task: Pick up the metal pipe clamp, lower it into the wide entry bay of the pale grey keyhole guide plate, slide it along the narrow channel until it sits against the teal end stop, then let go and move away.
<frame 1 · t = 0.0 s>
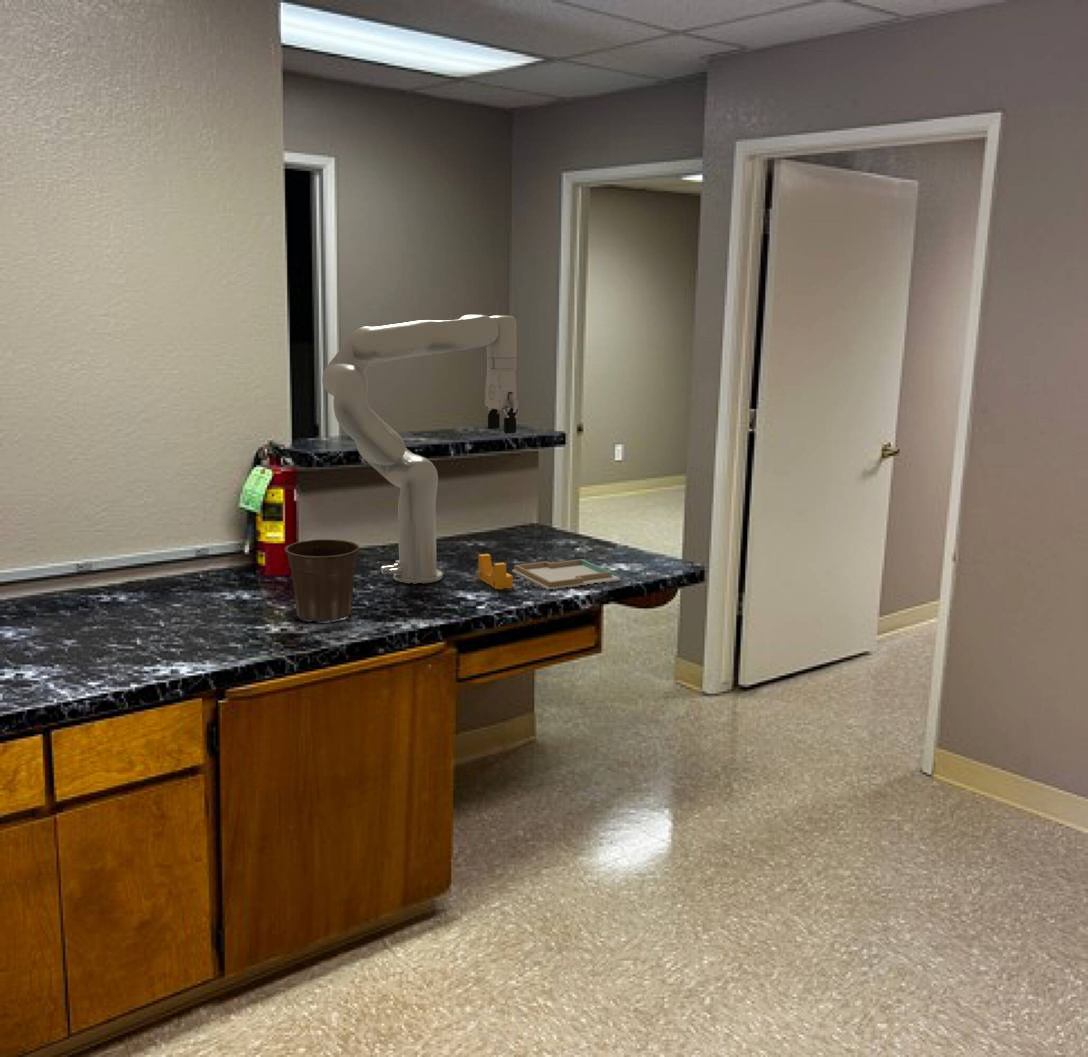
hand: (501, 430, 280), 37 cm above the worktop, tool pointing down, fingers open, 9 cm apart
plant pot: (325, 617, 244), on the worktop
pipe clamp: (495, 584, 273), on the worktop
keyhole guide: (565, 576, 280), on the worktop
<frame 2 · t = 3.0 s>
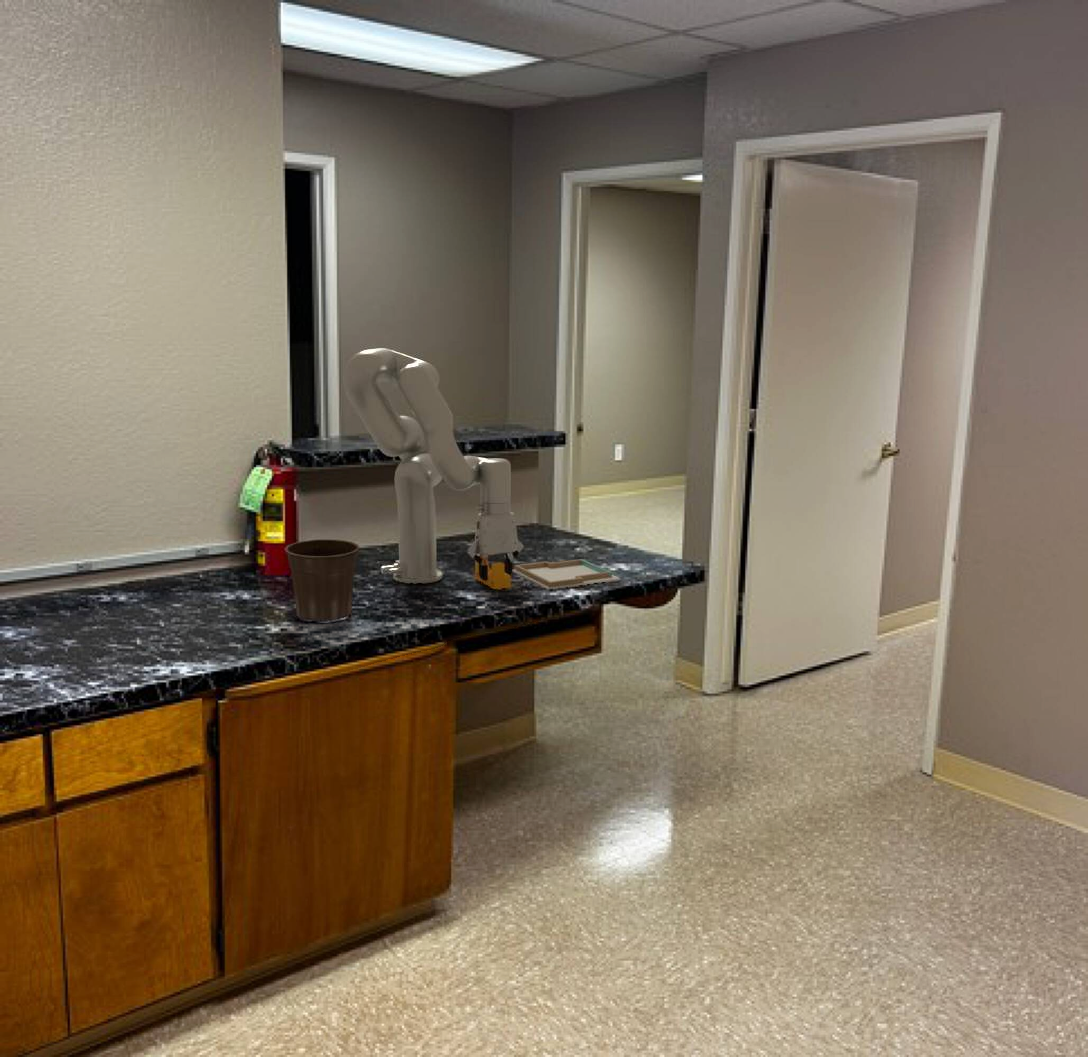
hand: (495, 577, 273), 1 cm above the worktop, tool pointing down, fingers open, 5 cm apart
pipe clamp: (492, 584, 273), on the worktop, touching gripper
everything else where it was.
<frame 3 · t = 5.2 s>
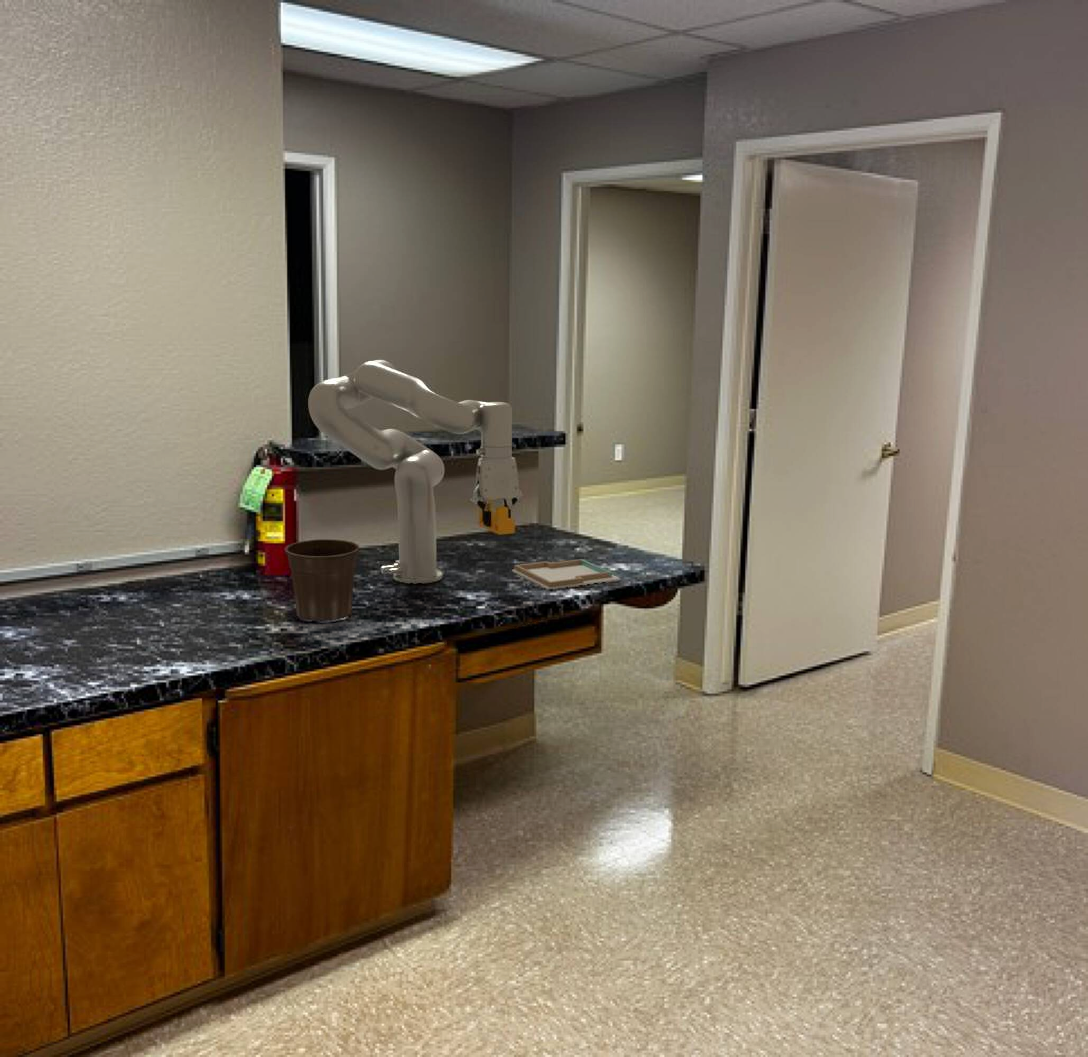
hand: (496, 524, 270), 15 cm above the worktop, tool pointing down, fingers closed on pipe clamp, 4 cm apart
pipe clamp: (496, 529, 270), point 14 cm above the worktop, touching gripper
everything else where it was.
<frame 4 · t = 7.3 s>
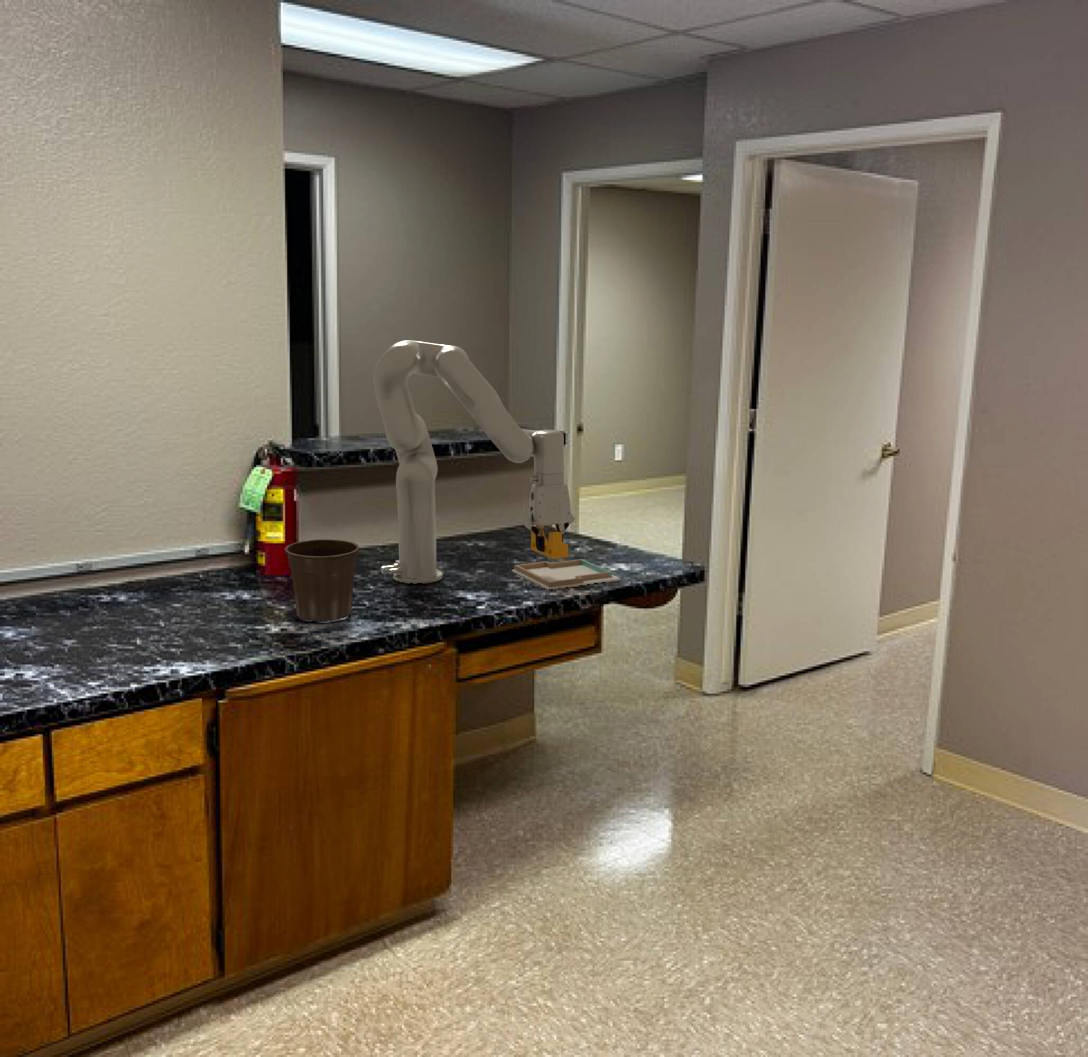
hand: (549, 548, 276), 8 cm above the worktop, tool pointing down, fingers closed on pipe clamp, 4 cm apart
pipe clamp: (549, 554, 276), point 6 cm above the worktop, touching gripper
everything else where it was.
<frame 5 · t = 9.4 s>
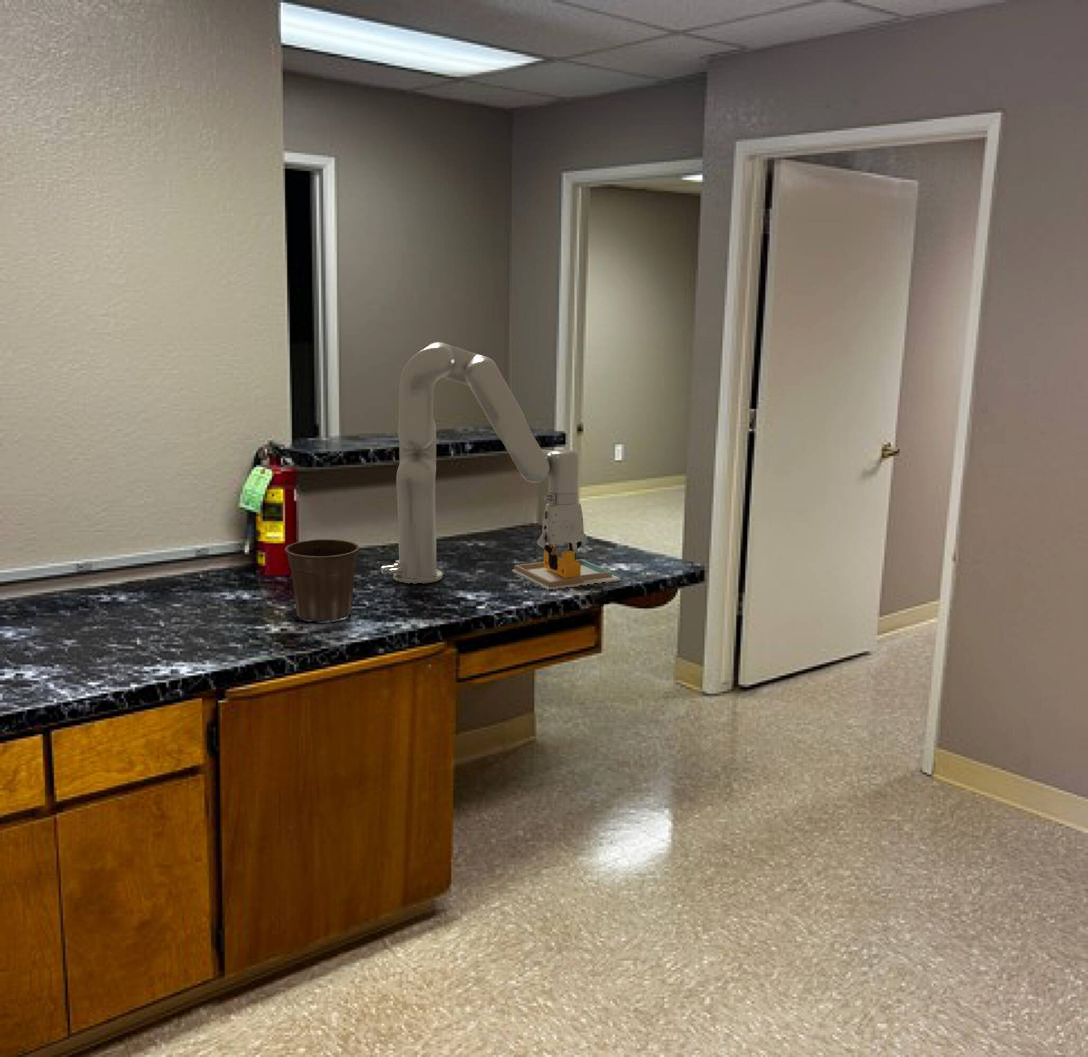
hand: (561, 567, 279), 3 cm above the worktop, tool pointing down, fingers closed on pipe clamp, 4 cm apart
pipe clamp: (561, 572, 279), point 1 cm above the worktop, touching gripper
everything else where it was.
when the fingers open (2 cm above the worktop, at t = 11.3 s): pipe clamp stays where it is, resting on keyhole guide.
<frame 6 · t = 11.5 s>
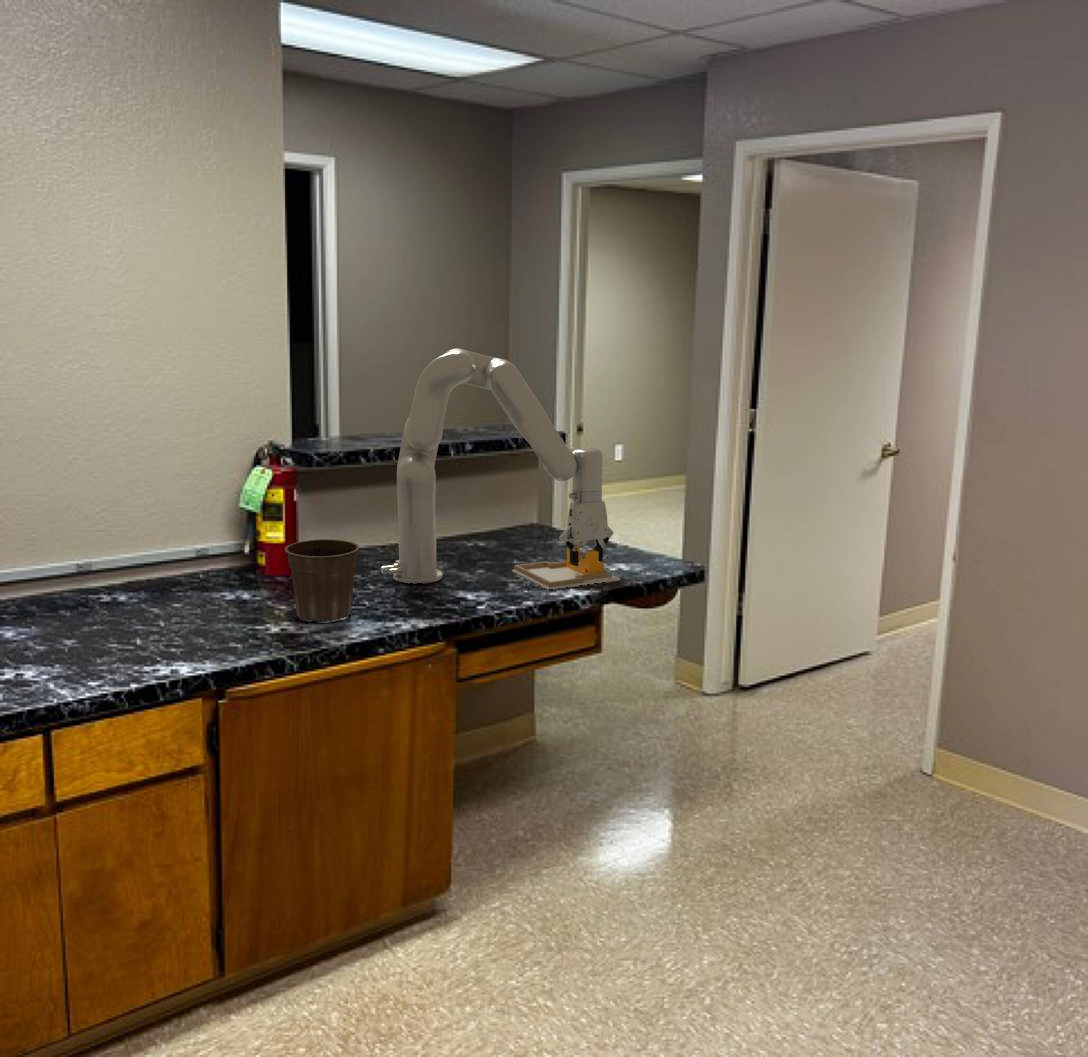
hand: (586, 562, 282), 3 cm above the worktop, tool pointing down, fingers open, 6 cm apart
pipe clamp: (585, 571, 283), resting on keyhole guide
everything else where it was.
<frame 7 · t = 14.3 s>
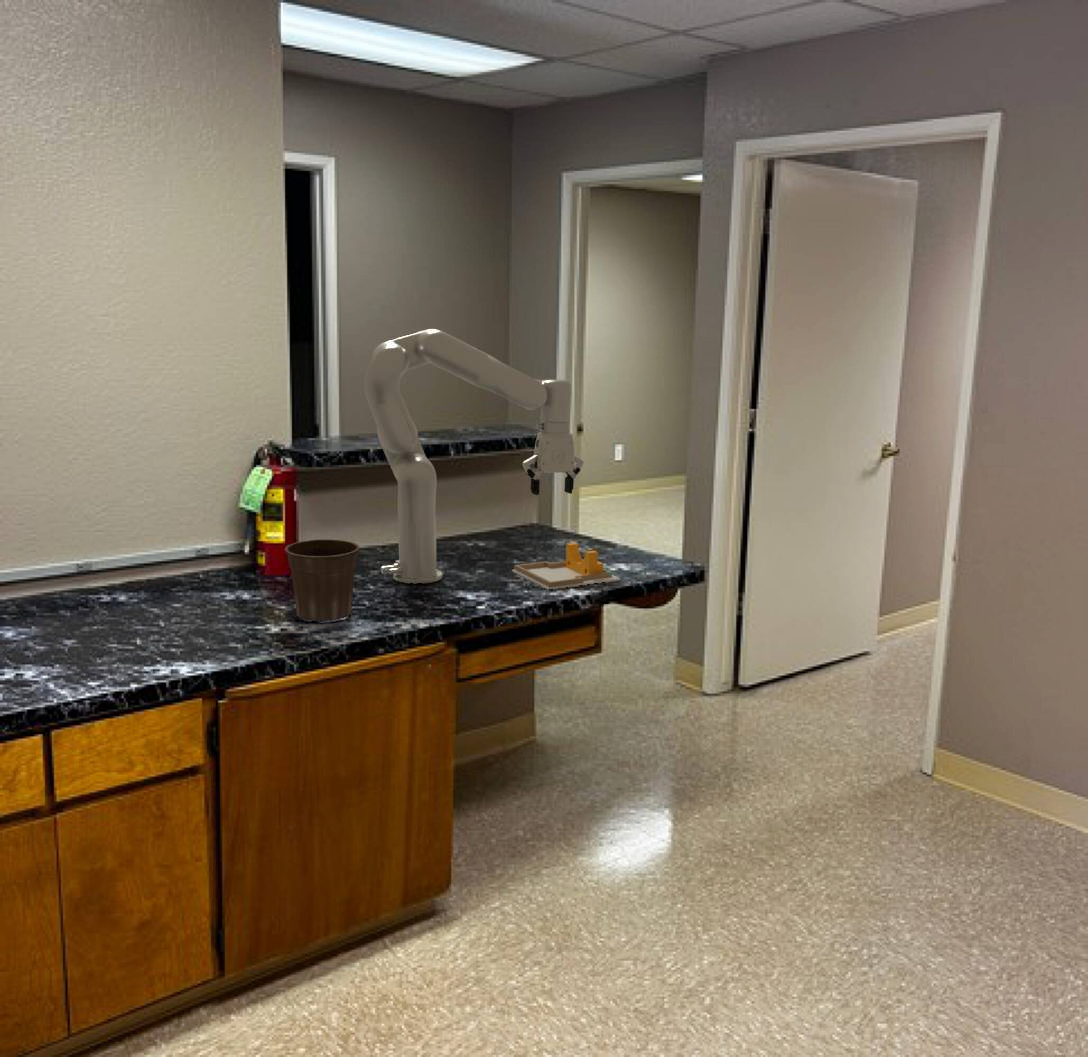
hand: (551, 493, 281), 21 cm above the worktop, tool pointing down, fingers open, 9 cm apart
nothing on the worktop moved.
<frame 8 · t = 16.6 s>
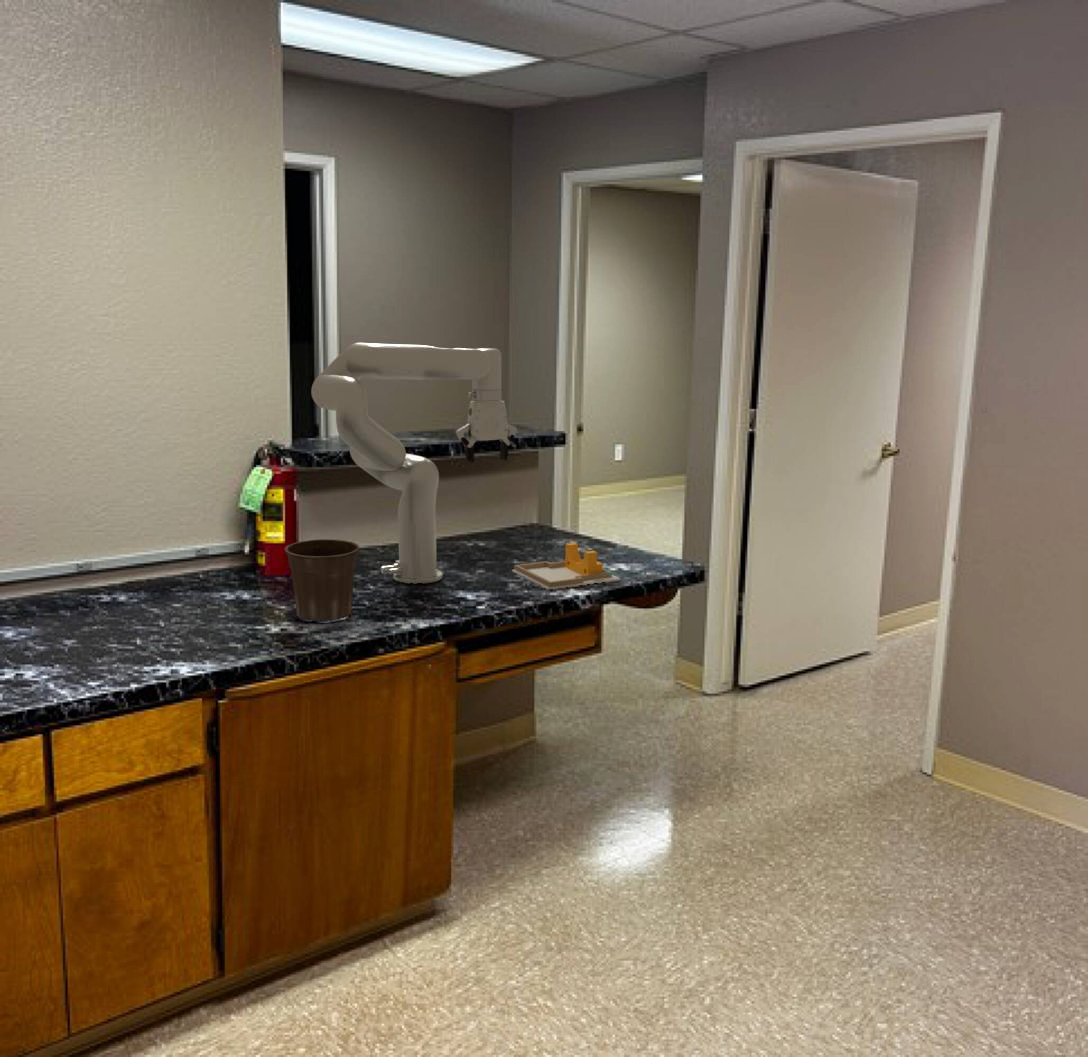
hand: (487, 460, 285), 28 cm above the worktop, tool pointing down, fingers open, 9 cm apart
nothing on the worktop moved.
at the end: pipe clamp 0.3 cm from the target spot on the keyhole guide, point 0.4 cm above the keyhole guide's base; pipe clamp tilted 0°; the gripper is holding nothing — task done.
